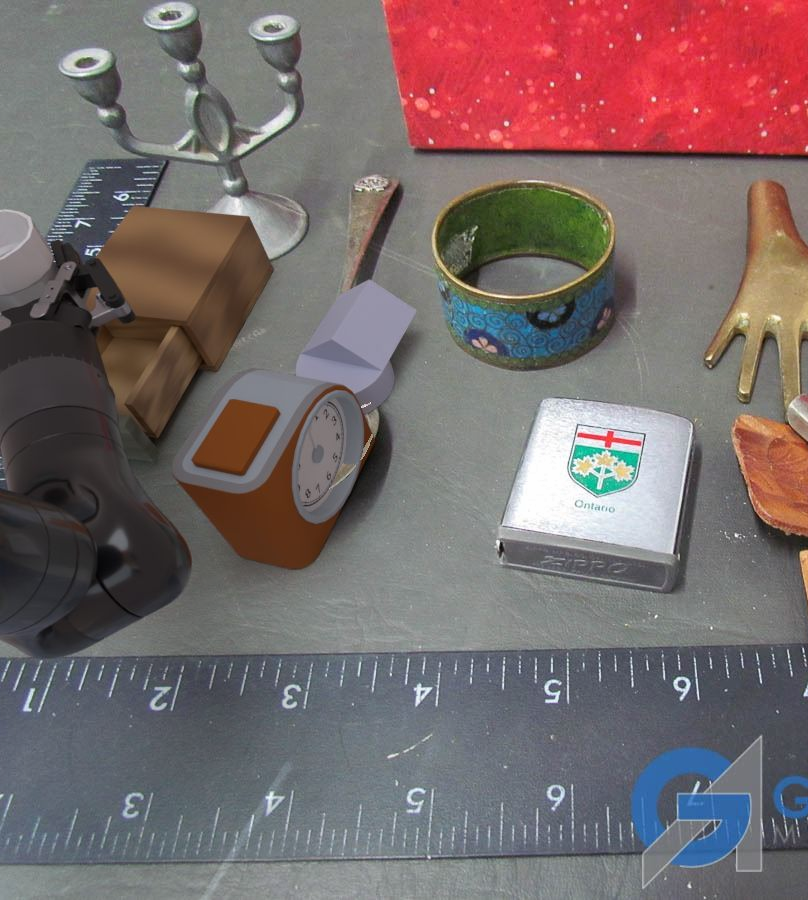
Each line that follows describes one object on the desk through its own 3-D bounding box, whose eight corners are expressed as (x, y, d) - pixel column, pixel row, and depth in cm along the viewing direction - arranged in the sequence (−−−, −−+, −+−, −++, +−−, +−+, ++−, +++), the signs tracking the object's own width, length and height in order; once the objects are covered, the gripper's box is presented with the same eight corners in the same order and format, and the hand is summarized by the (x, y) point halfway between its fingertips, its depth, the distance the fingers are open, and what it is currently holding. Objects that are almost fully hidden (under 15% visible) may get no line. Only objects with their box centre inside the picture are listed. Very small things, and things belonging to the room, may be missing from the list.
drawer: (148, 472, 78) (117, 436, 73) (29, 457, 79) (-9, 421, 74) (217, 349, 87) (194, 310, 82) (109, 337, 88) (80, 298, 83)
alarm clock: (313, 575, 72) (256, 494, 61) (226, 555, 73) (155, 472, 62) (379, 441, 80) (339, 348, 69) (299, 425, 82) (248, 331, 70)
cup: (67, 375, 69) (-17, 276, 60) (9, 353, 70) (-81, 253, 61) (123, 323, 72) (52, 222, 63) (66, 302, 74) (-11, 201, 65)
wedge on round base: (347, 317, 90) (290, 408, 83) (329, 271, 84) (266, 364, 77) (423, 332, 88) (372, 426, 81) (410, 287, 83) (353, 383, 76)
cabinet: (217, 371, 86) (185, 321, 80) (98, 358, 87) (57, 307, 81) (274, 268, 95) (249, 216, 88) (164, 258, 96) (132, 205, 90)
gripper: (128, 323, 58) (83, 195, 66) (-97, 408, 54) (-113, 260, 62) (176, 391, 64) (130, 266, 72) (-22, 472, 60) (-46, 329, 68)
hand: (18, 264), depth 67 cm, fingers closed on cup, 6 cm apart
